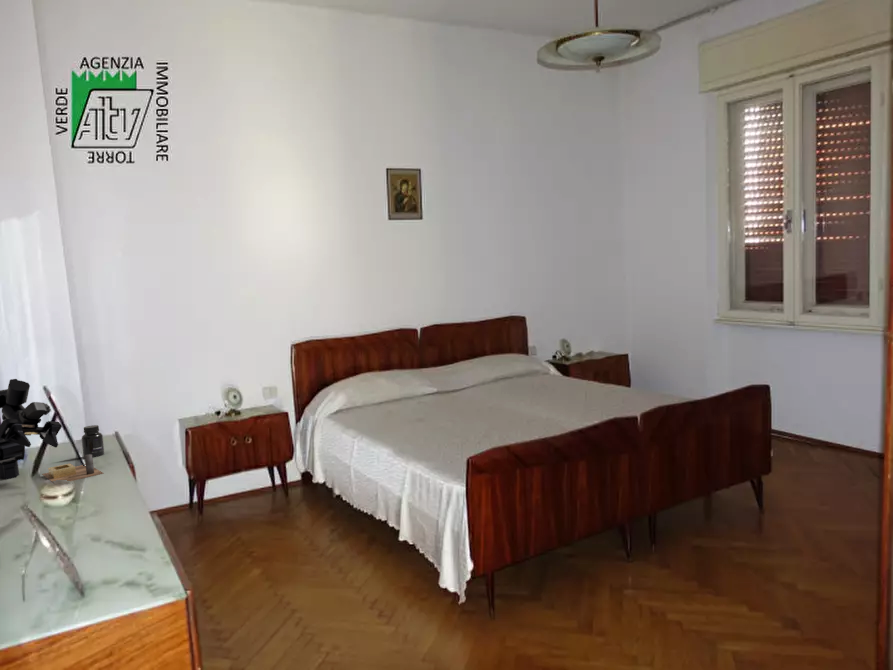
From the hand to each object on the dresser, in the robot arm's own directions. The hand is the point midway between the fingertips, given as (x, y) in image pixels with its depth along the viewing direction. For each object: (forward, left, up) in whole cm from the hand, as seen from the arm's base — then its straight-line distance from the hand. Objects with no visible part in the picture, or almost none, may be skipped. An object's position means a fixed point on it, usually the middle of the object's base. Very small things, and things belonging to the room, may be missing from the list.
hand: (43, 446), depth 214 cm
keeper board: (-7, +9, -14) cm, 18 cm away
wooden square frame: (-9, +6, -12) cm, 17 cm away
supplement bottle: (-27, +21, -14) cm, 37 cm away
